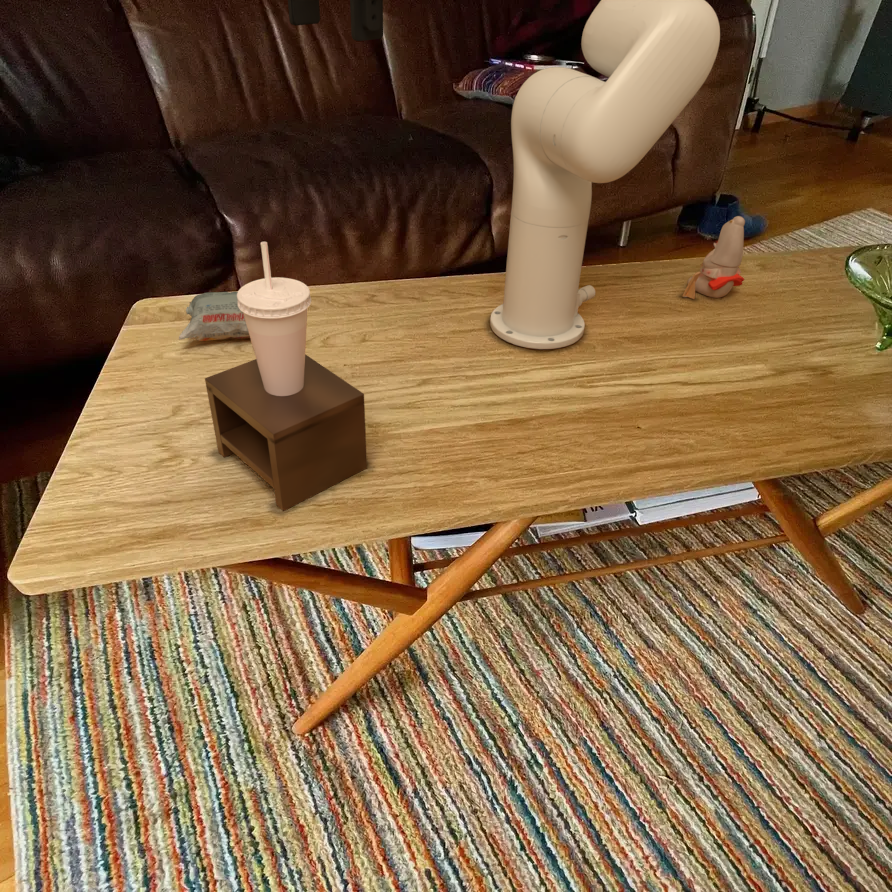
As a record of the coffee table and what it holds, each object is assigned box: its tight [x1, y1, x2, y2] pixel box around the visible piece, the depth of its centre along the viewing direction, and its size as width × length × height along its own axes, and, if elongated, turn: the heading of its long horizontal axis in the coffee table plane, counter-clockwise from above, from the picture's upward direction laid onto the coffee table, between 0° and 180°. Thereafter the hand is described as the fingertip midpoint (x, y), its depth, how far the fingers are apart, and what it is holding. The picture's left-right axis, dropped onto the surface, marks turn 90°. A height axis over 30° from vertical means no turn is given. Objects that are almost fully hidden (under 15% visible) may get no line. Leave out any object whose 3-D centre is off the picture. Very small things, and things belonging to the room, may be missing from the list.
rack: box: [204, 353, 368, 512], centre depth 75 cm, size 10×12×9 cm
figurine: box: [681, 215, 746, 300], centre depth 109 cm, size 9×7×12 cm
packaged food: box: [178, 291, 251, 342], centre depth 97 cm, size 9×12×5 cm
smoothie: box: [237, 241, 312, 396], centre depth 68 cm, size 6×6×14 cm
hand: (335, 31), depth 71 cm, fingers open, 9 cm apart
